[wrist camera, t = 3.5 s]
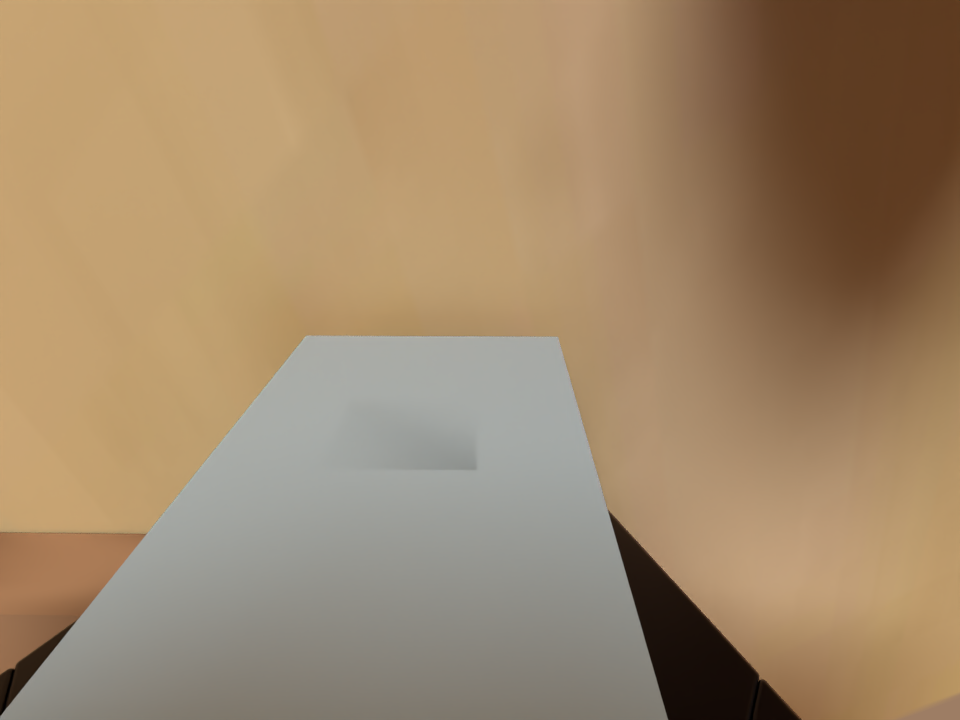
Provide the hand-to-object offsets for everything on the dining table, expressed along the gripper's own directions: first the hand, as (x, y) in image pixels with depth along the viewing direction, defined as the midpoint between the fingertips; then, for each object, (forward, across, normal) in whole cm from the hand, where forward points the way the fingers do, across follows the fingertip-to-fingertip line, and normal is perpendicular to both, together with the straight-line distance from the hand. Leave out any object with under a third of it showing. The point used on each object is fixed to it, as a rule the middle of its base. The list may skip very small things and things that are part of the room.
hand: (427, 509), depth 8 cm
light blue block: (+1, 0, +3) cm, 4 cm away
